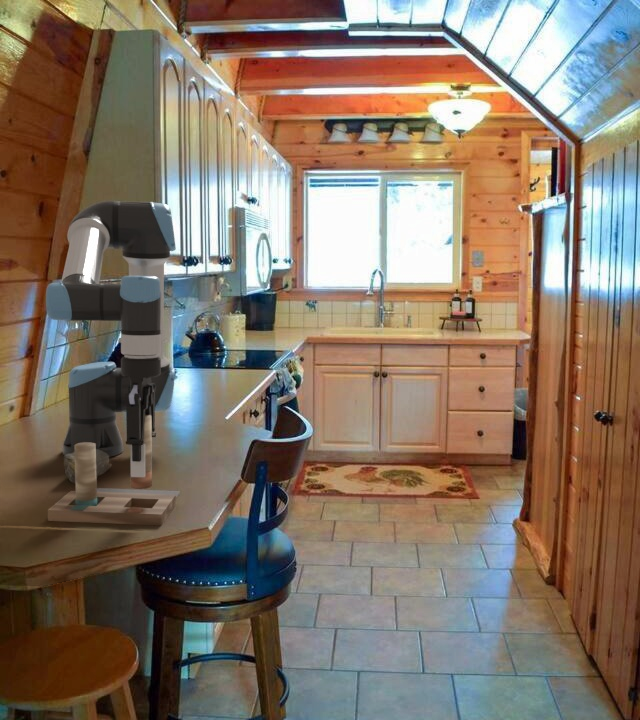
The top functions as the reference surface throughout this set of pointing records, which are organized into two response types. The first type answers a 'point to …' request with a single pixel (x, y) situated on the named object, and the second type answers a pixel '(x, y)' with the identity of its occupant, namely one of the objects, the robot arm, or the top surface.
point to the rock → (101, 464)
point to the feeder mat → (138, 491)
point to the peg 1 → (85, 474)
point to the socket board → (115, 508)
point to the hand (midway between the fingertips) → (141, 473)
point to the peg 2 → (147, 480)
